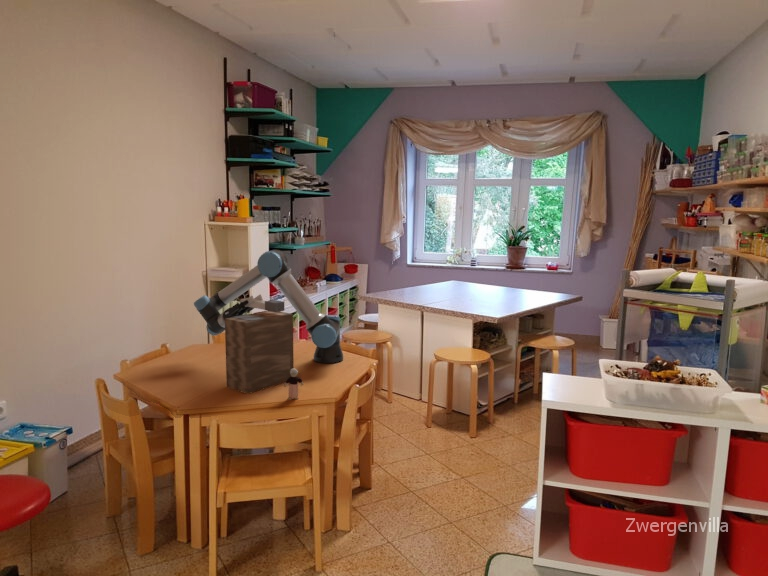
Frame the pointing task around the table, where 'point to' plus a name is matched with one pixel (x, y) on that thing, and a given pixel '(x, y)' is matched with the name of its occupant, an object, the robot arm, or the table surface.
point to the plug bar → (267, 305)
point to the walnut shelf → (258, 350)
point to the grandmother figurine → (293, 384)
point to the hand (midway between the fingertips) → (257, 297)
